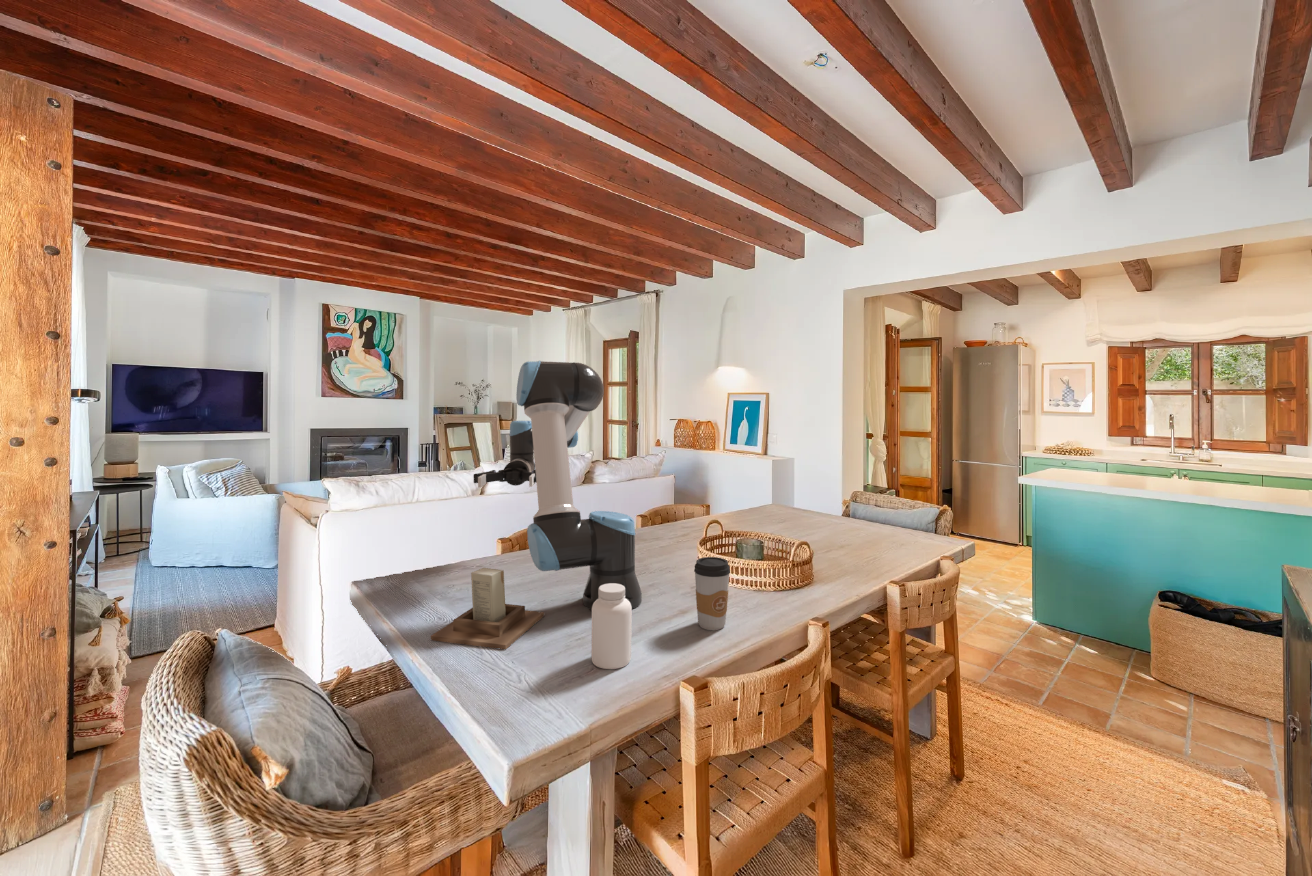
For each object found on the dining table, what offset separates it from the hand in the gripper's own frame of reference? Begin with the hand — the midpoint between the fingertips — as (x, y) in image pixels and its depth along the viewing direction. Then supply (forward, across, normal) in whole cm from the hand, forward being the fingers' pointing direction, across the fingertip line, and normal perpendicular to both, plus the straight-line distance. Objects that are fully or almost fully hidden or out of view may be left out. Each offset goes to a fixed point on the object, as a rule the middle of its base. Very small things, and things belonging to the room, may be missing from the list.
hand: (505, 482), depth 144 cm
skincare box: (+24, 0, -29) cm, 38 cm away
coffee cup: (+28, -51, -30) cm, 66 cm away
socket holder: (+24, 0, -30) cm, 39 cm away
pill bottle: (+43, -28, -30) cm, 59 cm away
